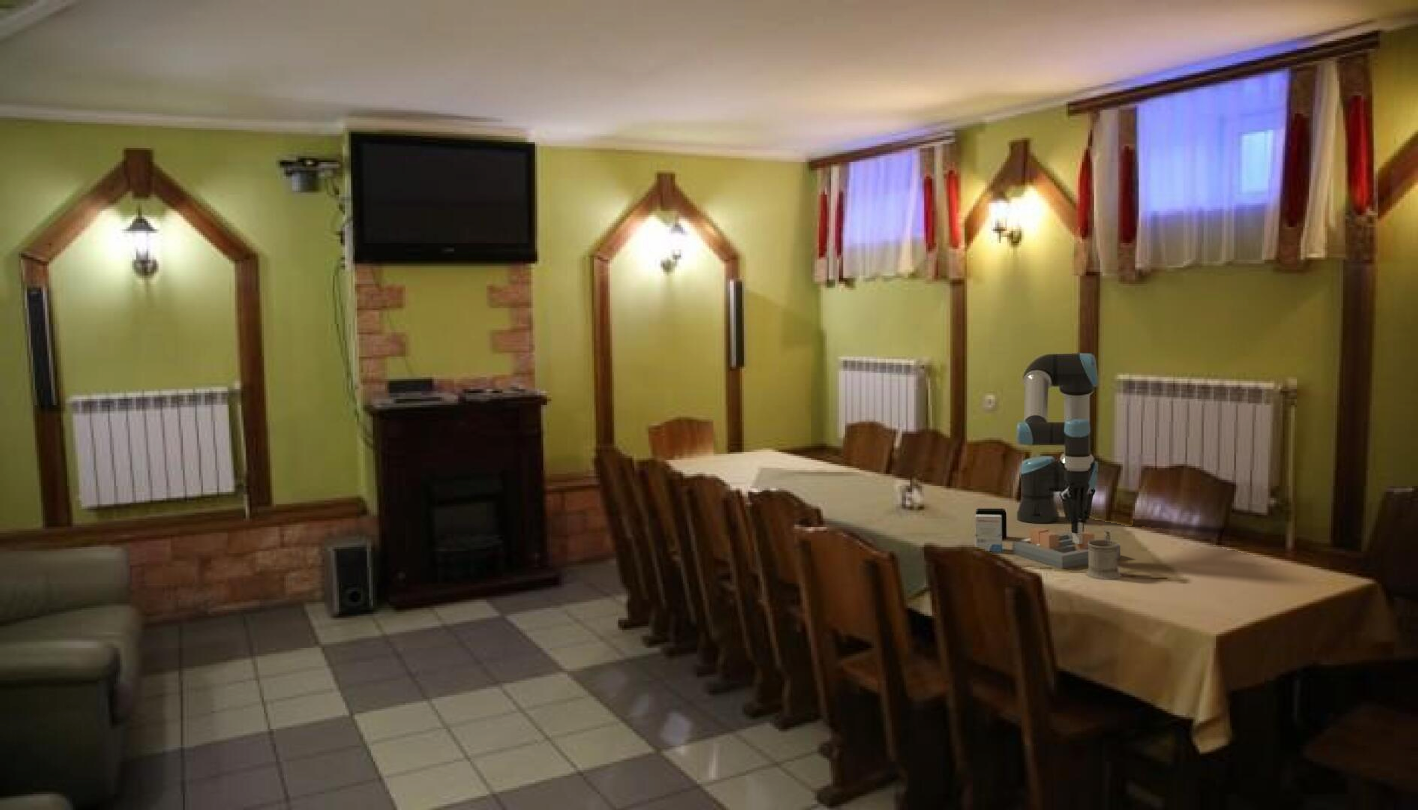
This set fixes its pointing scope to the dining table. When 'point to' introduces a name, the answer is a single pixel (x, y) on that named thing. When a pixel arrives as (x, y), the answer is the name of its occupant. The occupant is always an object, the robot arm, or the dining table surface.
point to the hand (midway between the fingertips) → (1077, 542)
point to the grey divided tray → (1054, 552)
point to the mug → (1103, 559)
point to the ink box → (988, 532)
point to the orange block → (1084, 541)
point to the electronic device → (995, 512)
